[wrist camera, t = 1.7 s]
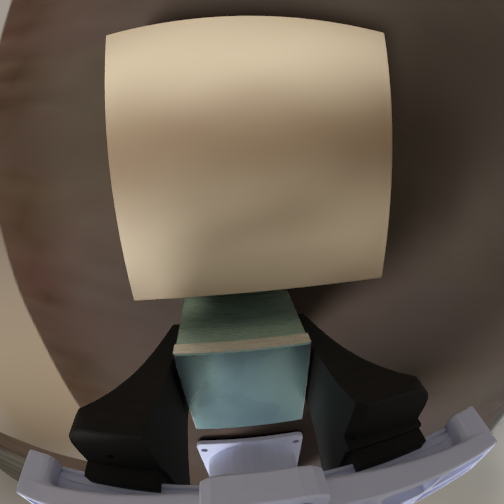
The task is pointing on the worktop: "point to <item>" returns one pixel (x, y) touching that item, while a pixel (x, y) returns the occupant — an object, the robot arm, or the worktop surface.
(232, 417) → the tin
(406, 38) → the worktop surface
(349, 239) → the beige square slab
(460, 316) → the worktop surface
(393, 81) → the worktop surface
